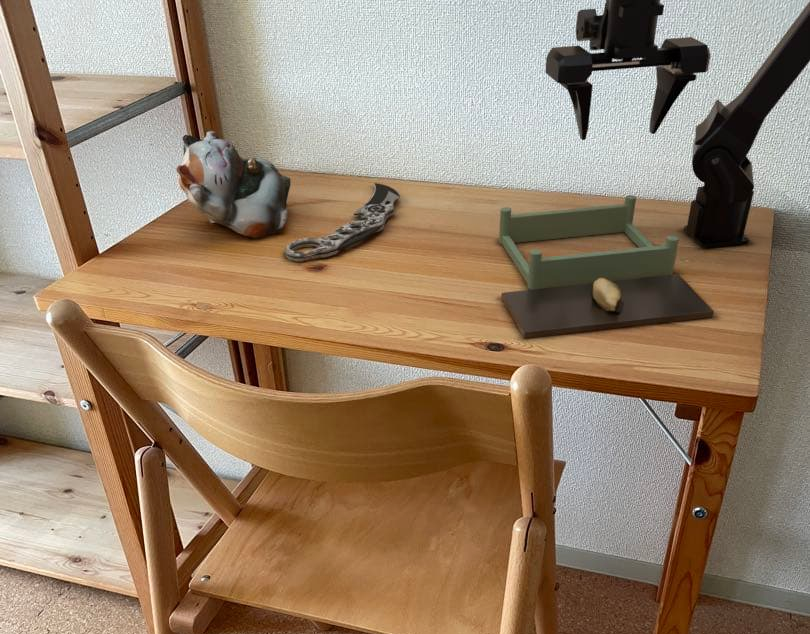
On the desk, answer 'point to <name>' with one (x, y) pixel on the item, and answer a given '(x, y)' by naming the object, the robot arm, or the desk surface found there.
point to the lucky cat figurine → (233, 187)
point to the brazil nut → (607, 295)
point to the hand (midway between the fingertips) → (617, 136)
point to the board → (582, 313)
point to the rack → (584, 265)
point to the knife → (349, 227)
